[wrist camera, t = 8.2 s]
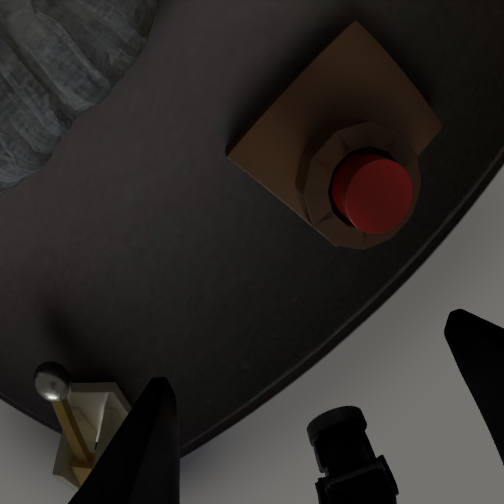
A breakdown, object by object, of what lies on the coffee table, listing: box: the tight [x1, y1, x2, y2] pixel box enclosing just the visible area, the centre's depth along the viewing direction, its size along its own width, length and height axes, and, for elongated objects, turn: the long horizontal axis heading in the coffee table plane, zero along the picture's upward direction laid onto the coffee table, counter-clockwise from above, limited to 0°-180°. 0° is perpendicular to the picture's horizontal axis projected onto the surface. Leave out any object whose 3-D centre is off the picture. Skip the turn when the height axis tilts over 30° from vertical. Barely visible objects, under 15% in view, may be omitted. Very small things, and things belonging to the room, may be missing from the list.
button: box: [332, 152, 412, 233], centre depth 14 cm, size 4×4×2 cm
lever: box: [34, 361, 96, 486], centre depth 19 cm, size 12×3×3 cm, turn 7°
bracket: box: [53, 382, 132, 492], centre depth 21 cm, size 9×7×9 cm
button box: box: [225, 20, 443, 249], centre depth 15 cm, size 10×9×4 cm
